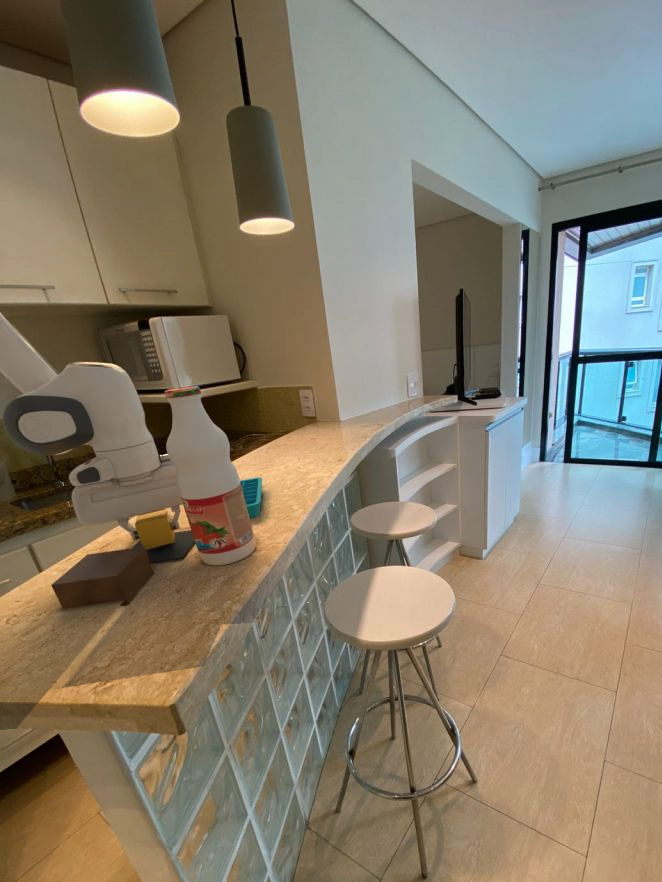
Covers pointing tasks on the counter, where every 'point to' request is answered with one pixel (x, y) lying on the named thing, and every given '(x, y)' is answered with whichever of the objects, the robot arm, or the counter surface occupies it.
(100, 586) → the walnut block
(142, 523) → the mustard cube
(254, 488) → the ice cube tray
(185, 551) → the coaster
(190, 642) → the counter surface
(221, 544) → the fruit juice
